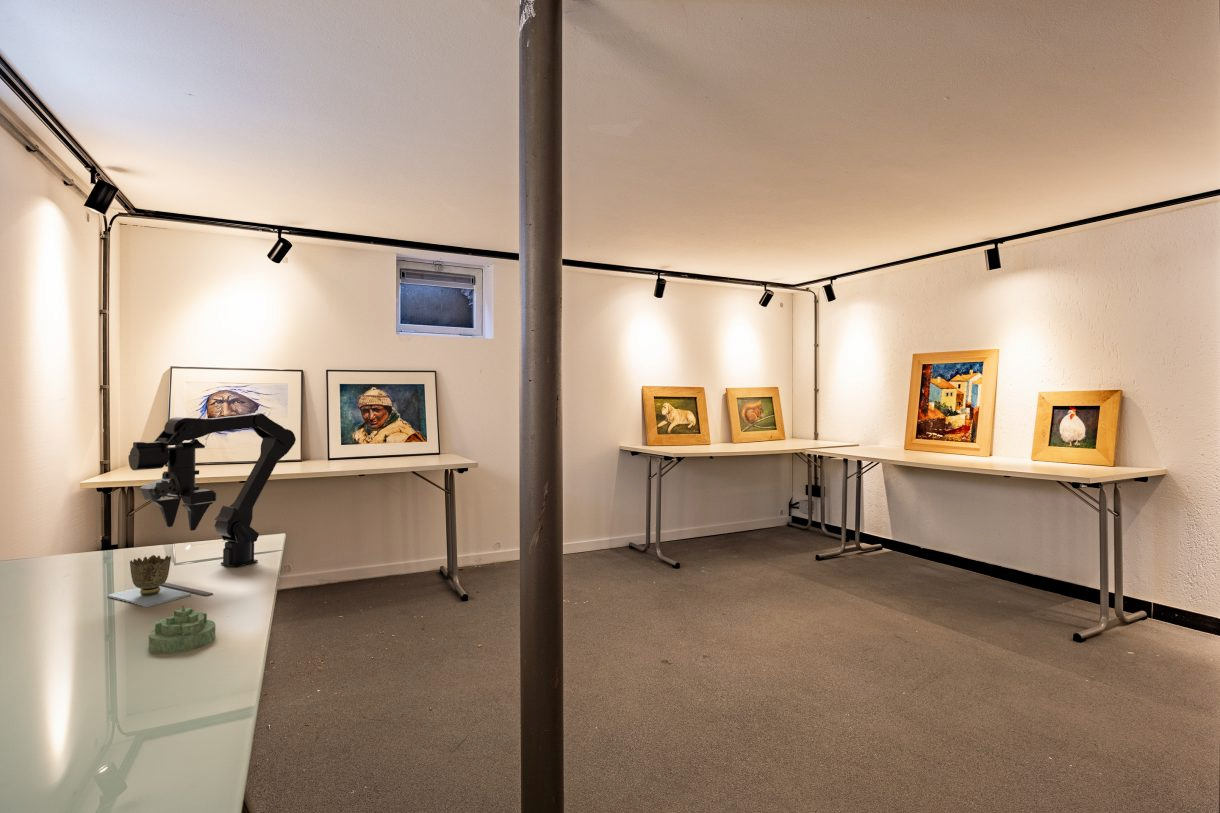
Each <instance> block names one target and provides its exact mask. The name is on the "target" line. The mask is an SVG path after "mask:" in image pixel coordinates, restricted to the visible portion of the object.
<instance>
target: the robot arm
mask: <svg viewBox="0 0 1220 813" xmlns="http://www.w3.org/2000/svg"><path fill="white" fill-rule="evenodd" d="M163 427H164V429H163V430H162V432H160V434H159V435H158V436H157V437H156V439H154V440H153V441H150V442H149V441H147V442H146V441H145V442H144V441H134V442H132V447H131V449H130V452H129V454H128V456H127V457H128V459H127V460H128V465H129V468H130V469H131V470H132V471H145V470H146V471H147V470H157V469H159V470H160V469H163V468H164V466H167V470H166V471H163V472H162V474H161V478H159V479H157V480H154V481H152V482H149V483H147V484H144V485H142V486H140V487H139V489H140V492H141V494H142V497H143V499H144V500H145V501H146V500H148V501H149V500H150V502H151V503H153V504H155V505H156V506H158V507H159V509H160V511H161V514H162V517H163V520H164V522H165V525H166V527H167V528H173V526H174V524H175V521H176V517H177V513H178V510H179V506H180V504H181V501H182V502H183V504H181V506H182V507H183V508H184V509H185V510H187V517H188V518H187V519H188V527H189V531H196V529H197V528H198V527H199V525H200V522H201V521H202V518H203V516H204V514H206V512H207V510H208V509H209V507H210V505H213V502H216V501H217V492H215V491H214V490H213V489H205V488H203V489H200V486H197V485H196V476H197V475H200V470H198V469H197V470H196V450H197V449H205V448H206V445H205V444H203V443H202V442H201V441H199V438H202V437H205V436H207V435H210V434H214V433H220V432H229V431H236V430H244V429H245V430H247V429H252V430H253V431H254V432H255V434H256V435H257V436H258V437H260V438H261V439H262V440H261V443H260V454H259V457H258V459H257V461H256V462H255V464H254V466H253V468H252V470H251V472H250V474H248V477H247V479H246V480H245V482H244V483H243V486H242V488H241V490H240V491H239V493H238V495H237V497H236V499H235V500H234V501H233V503H231V504H230V505H222V507H221V508H220V511H219V513H218V515H217V516H216V517H215V518H214V521H215V524H214V528H215V531H216V533H217V534H219V535H220V536H221V539H222V541H225V542H224V547H223V549H222V552H223V555H222V561H221V562H220V565H222V566H228V567H231V568H238V567H242V566H245V565H251V564H254V563H258V561H259V560H258V559H255V542H257V541H258V537H259V536H260V533H259V532H257V531H256V530H255V529H254V528H253V527H252V526H251V525H252V521H253V512H254V507H255V505H256V503H257V501H258V499H259V497H260V495H261V494H262V491H263V490H264V488H265V486H266V484H267V483H268V480H269V479H270V477H271V476H272V473H273V471H274V469H275V467H276V466H277V463H278V462H279V461H280V460H281V459H282V458H283V457H285V456H286V455H287V454H288V453H289V451H290V450H292V448H293V446H294V445H295V444H296V440H297V439H296V436H295V433H294V432H293V431H292V430H291V429H288V428H284V426H282V425H280V424H279V423H277V422H275V421H273V420H272V419H271V418H269V417H268V416H266V415H265V414H264V413H258V412H251V413H248V414H241V415H239V414H238V415H230V416H222V417H221V416H220V417H213V418H212V417H211V418H210V417H209V418H196V417H195V418H194V417H182V416H181V417H180V416H179V417H176V416H174V417H172V418H169V419H168V420H167V422H165V424H164V426H163ZM186 441H187V442H186Z"/></svg>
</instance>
